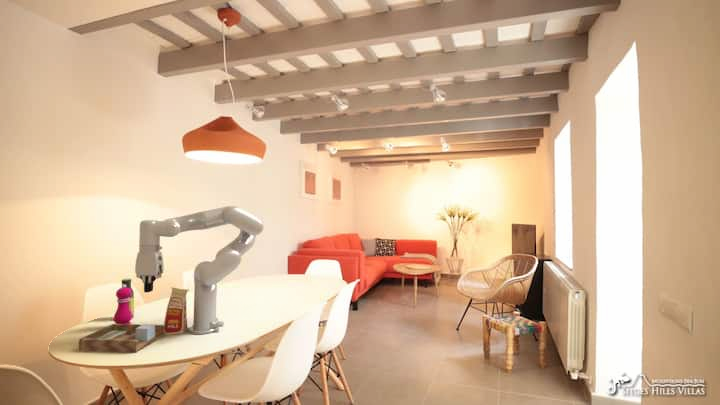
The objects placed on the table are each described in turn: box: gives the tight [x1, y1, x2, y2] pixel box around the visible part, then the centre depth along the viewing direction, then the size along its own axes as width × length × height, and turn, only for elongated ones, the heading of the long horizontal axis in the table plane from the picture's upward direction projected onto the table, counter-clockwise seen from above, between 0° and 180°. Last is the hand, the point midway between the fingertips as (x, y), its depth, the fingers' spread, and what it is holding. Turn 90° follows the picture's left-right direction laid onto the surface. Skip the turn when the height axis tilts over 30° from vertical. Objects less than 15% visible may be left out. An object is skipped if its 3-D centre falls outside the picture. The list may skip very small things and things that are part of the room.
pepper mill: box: [113, 284, 133, 324], centre depth 160 cm, size 7×7×20 cm
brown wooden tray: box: [78, 323, 165, 354], centre depth 142 cm, size 23×18×4 cm
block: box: [135, 323, 156, 341], centre depth 142 cm, size 5×5×5 cm
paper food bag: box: [163, 286, 189, 336], centre depth 157 cm, size 9×9×20 cm
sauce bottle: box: [121, 278, 135, 319], centre depth 172 cm, size 7×6×20 cm
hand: (148, 291), depth 146 cm, fingers closed
